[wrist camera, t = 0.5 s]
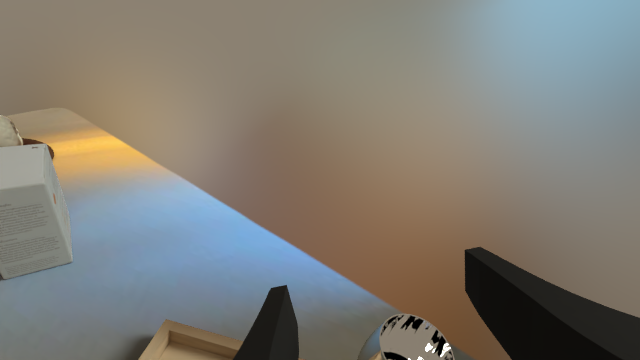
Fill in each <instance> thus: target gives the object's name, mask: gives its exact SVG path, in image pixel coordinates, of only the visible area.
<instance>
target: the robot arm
mask: <svg viewBox="0 0 640 360" xmlns="http://www.w3.org/2000/svg"><path fill="white" fill-rule="evenodd" d="M465 291H466V293H467V294H468V296H469V298H470V300H471V302H472V304H473V305H474V307H475V309H476V310H477V312H478V314H479V315H480V317H481V318H482V320H483V321H484V322H485V324H486V325H487V327H488V328H489V329H490V331H491V332H492V333H493V335H494V336H495V338H496V339H497V340H498V341H499V343H500V344H501V345H502V347H503V348H504V350H505V351H506V352H507V354H508V355H509V356H510V358H511V359H512V360H640V318H638V317H635V316H632V315H629V314H626V313H623V312H620V311H617V310H615V309H612V308H609V307H606V306H603V305H601V304H598V303H596V302H593V301H591V300H588V299H586V298H583V297H581V296H578V295H576V294H573V293H571V292H569V291H567V290H564V289H562V288H560V287H558V286H555V285H553V284H551V283H549V282H547V281H545V280H543V279H541V278H539V277H537V276H535V275H533V274H531V273H529V272H527V271H525V270H523V269H521V268H519V267H517V266H515V265H513V264H512V263H509V262H508V261H506V260H504V259H502V258H500V257H499V256H497V255H495V254H493V253H491V252H489V251H487V250H485V249H483V248H481V247H477V248H472V249H467V250H465ZM298 359H299V342H298V326H297V320H296V317H295V313H294V310H293V306H292V303H291V299H290V295H289V292H288V288H287V285H284V286H279V287H274V288H271V289H270V291H269V293H268V295H267V298H266V300H265V302H264V304H263V306H262V308H261V310H260V312H259V314H258V316H257V318H256V320H255V322H254V324H253V326H252V328H251V330H250V331H249V333H248V335H247V337H246V338H245V340H244V342H243V343H242V345H241V347H240V349H239V350H238V352H237V354H236V355H235V357H234V358H233V360H298Z"/></svg>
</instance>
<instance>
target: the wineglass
mask: <svg viewBox="0 0 640 360" xmlns="http://www.w3.org/2000/svg"><path fill="white" fill-rule="evenodd" d="M357 360H454V356H453V352H452V350H451V347H450V345H449V343H448V342H447V340H446V339H445V337H444V336H443V335H442V334H441V332H440V331H439V330H438V329H437V328H436V327H434V326H433V325H432V324H431V323H429V322H428V321H426V320H424V319H422V318H420V317H417V316H415V315H410V314H397V315H394V316H392V317H390V318H388V319H387V320H386V321H385V322H383V323H382V324H381V325H380V326H379V327H378V328H377V329H376V330H375V331H374V332H373V333H372V334H371V335H370V336H369V338H368V339H367V340H366V342H365V343H364V345H363V347H362V348H361V351H360V353H359V355H358V359H357Z"/></svg>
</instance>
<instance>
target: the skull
mask: <svg viewBox="0 0 640 360" xmlns="http://www.w3.org/2000/svg"><path fill="white" fill-rule="evenodd" d="M32 144H44V143H43V142H39V141H36V140H31V139H24V138H21V137H20V132H19V131H18V130H17V129H16V128H15V125H14V123H13V122H12V120H10V119H9V118H7V117H5V116H2V115H0V147H9V146H21V145H32ZM47 146H48V145H47ZM48 150H49V153H50V156H51V159H53V157H54V152H53V150H52V149H51V147H50V146H48Z"/></svg>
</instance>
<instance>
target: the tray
mask: <svg viewBox="0 0 640 360" xmlns="http://www.w3.org/2000/svg"><path fill="white" fill-rule="evenodd" d="M242 343H243V341H239V340H236V339H232V338H229V337H226V336H222V335H219V334H215V333H212V332H208V331H205V330H201V329H198V328H194V327H191V326H188V325H184V324H181V323H177V322H174V321H170V320H167V319H166V320H165V321H164V323H163V324H162V326H161V327H160V329H159V330H158V332H157V333H156V334H155V336H154V337H153V339H152V340H151V342H150V343H149V345H148V346H147V348H146V349H145V351H144V352H143V354H142V355H141V356H140V358H139V359H138V360H233V358H234V357H235V355H236V354H237V352H238V350H239V349H240V347H241V345H242ZM298 360H305V359H301V358H299V359H298Z"/></svg>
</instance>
